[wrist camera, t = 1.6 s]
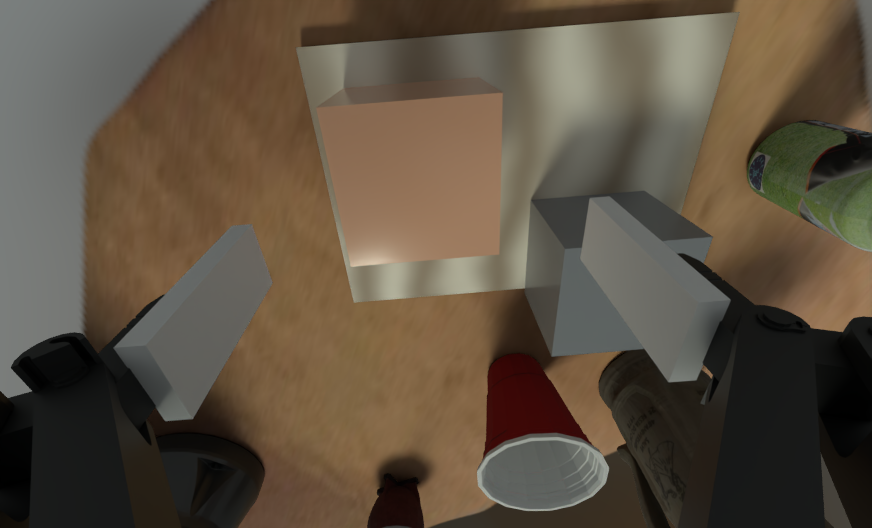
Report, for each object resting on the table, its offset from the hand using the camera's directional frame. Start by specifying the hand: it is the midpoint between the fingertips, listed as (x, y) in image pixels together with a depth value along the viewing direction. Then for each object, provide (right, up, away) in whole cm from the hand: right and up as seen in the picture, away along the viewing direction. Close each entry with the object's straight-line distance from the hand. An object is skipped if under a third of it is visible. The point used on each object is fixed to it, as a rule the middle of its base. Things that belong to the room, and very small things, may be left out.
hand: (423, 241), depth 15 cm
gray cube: (+13, +1, +17) cm, 21 cm away
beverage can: (+27, +8, +15) cm, 32 cm away
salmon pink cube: (-1, +7, +12) cm, 14 cm away
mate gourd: (-5, -31, +37) cm, 48 cm away
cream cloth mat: (+6, +6, +15) cm, 17 cm away
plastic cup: (+9, -13, +26) cm, 31 cm away
